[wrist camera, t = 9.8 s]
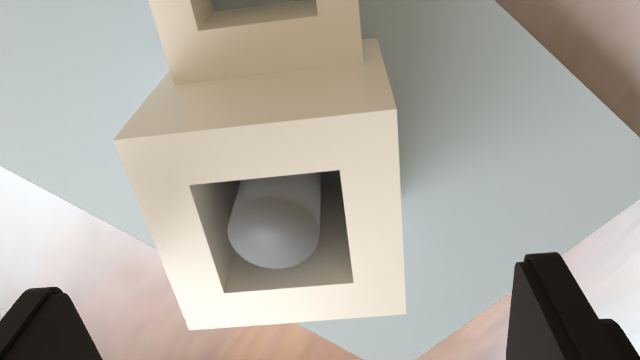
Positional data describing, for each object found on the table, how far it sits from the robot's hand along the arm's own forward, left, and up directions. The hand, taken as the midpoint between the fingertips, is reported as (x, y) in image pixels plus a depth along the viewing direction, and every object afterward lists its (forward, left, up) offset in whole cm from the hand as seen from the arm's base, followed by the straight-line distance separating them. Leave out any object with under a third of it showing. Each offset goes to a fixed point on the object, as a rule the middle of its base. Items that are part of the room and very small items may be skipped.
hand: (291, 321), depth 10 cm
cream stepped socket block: (+3, -2, -7) cm, 8 cm away
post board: (0, 0, -8) cm, 8 cm away
